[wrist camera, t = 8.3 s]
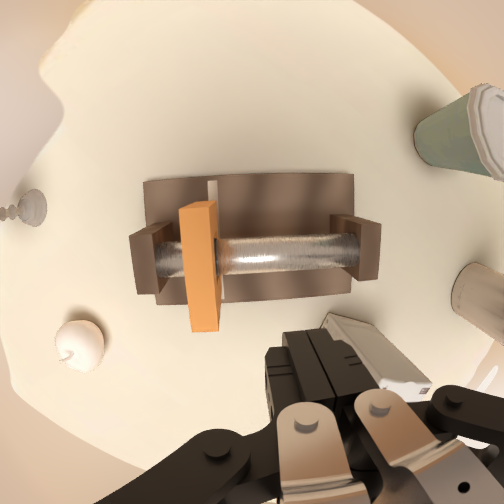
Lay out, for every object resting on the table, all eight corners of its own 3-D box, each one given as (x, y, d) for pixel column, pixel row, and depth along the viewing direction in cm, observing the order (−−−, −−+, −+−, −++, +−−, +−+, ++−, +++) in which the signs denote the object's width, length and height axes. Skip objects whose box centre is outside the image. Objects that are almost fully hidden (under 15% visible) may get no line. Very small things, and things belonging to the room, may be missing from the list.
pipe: (365, 228, 25) (381, 234, 22) (363, 260, 26) (378, 270, 23) (141, 239, 24) (129, 247, 21) (145, 273, 25) (135, 284, 22)
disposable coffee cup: (410, 185, 31) (497, 193, 17) (389, 105, 29) (469, 74, 14) (459, 172, 31) (537, 177, 17) (442, 102, 29) (516, 83, 14)
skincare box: (308, 347, 35) (345, 427, 21) (328, 308, 34) (381, 379, 20) (357, 358, 36) (404, 427, 22) (377, 323, 35) (436, 385, 21)
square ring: (216, 200, 27) (208, 207, 18) (221, 288, 29) (218, 331, 20) (195, 201, 26) (178, 209, 18) (202, 289, 29) (191, 332, 20)
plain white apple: (73, 301, 32) (43, 327, 24) (117, 326, 33) (93, 358, 25) (67, 339, 33) (41, 368, 25) (107, 362, 34) (87, 396, 26)
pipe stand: (348, 174, 30) (390, 172, 21) (345, 288, 34) (380, 321, 24) (147, 182, 29) (113, 181, 20) (159, 300, 32) (136, 339, 23)
